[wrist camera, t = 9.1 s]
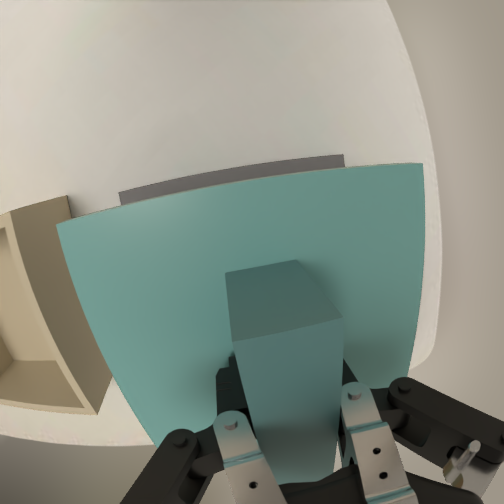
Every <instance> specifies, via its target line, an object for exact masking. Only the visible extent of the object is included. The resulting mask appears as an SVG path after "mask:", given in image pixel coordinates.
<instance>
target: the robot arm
mask: <svg viewBox="0 0 504 504" xmlns="http://www.w3.org/2000/svg"><path fill="white" fill-rule="evenodd" d="M228 359H229V367H225V368H220V369H219V370H218V372H217V374H216V402H217V417H216V418H215V420H214V422H213V424H212V425H211V426H209V427H208V428H206V429H204V430H201V431H198V432H196V433H194V432H192V431H191V430H188V429H176V430H173V431H171V432H170V433H168V434H167V435H166V437H165V438H164V440H163V441H162V443H161V444H160V446H159V447H158V449H157V450H156V452H155V453H154V455H153V456H152V458H151V459H150V461H149V462H148V463H147V465H146V466H145V468H144V469H143V471H142V472H141V474H140V475H139V477H138V478H137V480H136V481H135V483H134V484H133V485H132V487H131V488H130V490H129V491H128V493H127V494H126V496H125V497H124V498H123V500H122V501H121V502H120V504H199V503H200V501H201V499H202V497H203V495H204V493H205V491H206V489H207V487H208V485H209V483H210V481H211V479H212V477H213V475H214V473H217V472H219V471H222V470H225V472H226V475H227V478H228V481H229V484H230V487H231V490H232V493H233V496H234V499H235V502H236V504H484V503H483V501H482V500H481V497H482V495H483V494H484V492H485V491H486V489H487V487H488V486H489V484H490V482H491V481H492V479H493V477H494V475H495V474H496V472H497V470H498V468H499V467H500V465H501V464H502V463H503V462H504V422H503V421H501V420H499V419H497V418H494V417H492V416H490V415H488V414H486V413H483V412H481V411H479V410H477V409H474V408H472V407H470V406H468V405H466V404H464V403H462V402H459V401H457V400H455V399H453V398H451V397H449V396H447V395H445V394H442V393H441V392H439V391H437V390H435V389H432V388H430V387H428V386H426V385H424V384H422V383H420V382H418V381H416V380H414V379H412V378H409V377H400V378H397V379H395V380H393V381H392V382H391V384H390V386H389V387H388V388H378V389H371V388H369V387H368V386H367V385H366V384H364V383H361V382H358V380H357V379H356V377H355V376H354V374H353V372H352V371H351V369H350V368H349V366H348V365H347V363H346V361H345V360H344V358H343V373H342V391H341V405H340V417H339V428H338V438H337V441H338V446H339V451H340V456H341V462H342V468H341V469H340V470H338V471H336V472H334V473H332V474H330V475H329V476H327V477H325V478H323V479H321V480H319V481H315V482H296V483H285V484H280V485H278V484H277V482H276V480H275V478H274V475H273V473H272V471H271V469H270V467H269V465H268V463H267V460H266V458H265V456H264V454H263V453H262V452H261V450H260V448H259V446H258V443H257V441H256V439H257V438H256V434H255V431H254V427H253V423H252V420H251V416H250V412H249V408H248V404H247V401H246V397H245V393H244V389H243V385H242V381H241V377H240V373H239V369H238V365H237V361H236V357H235V356H229V357H228ZM394 440H395V441H397V442H399V443H400V444H402V445H403V446H405V447H407V448H408V449H410V450H411V451H413V452H415V453H417V454H418V455H420V456H422V457H423V458H425V459H427V460H429V461H430V462H432V463H434V464H435V465H437V466H439V467H441V468H443V475H444V477H445V480H446V482H448V483H451V485H452V486H450V485H447V484H443V483H440V482H436V481H433V480H430V479H427V478H424V477H420V476H418V475H415V474H412V473H409V472H406V471H405V470H404V467H403V464H402V461H401V458H400V455H399V452H398V449H397V446H396V444H395V441H394Z"/></svg>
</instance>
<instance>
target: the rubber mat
mask: <svg viewBox="0 0 504 504" xmlns="http://www.w3.org/2000/svg"><path fill="white" fill-rule="evenodd" d="M342 167H345V164H344V156H343V154H342V155H330V156H319V157H310V158H301V159H292V160H284V161H276V162H269V163H262V164H255V165H249V166H242V167H236V168H230V169H224V170H219V171H213V172H208V173H203V174H197V175H192V176H187V177H183V178H178V179H173V180H169V181H164V182H160V183H155V184H151V185H147V186H143V187H138V188H134V189H130V190H127V191H123V192H119V197H120V202H121V205H125V204H129V203H133V202H137V201H141V200H145V199H150V198H154V197H159V196H163V195H168V194H173V193H177V192H182V191H187V190H192V189H197V188H203V187H208V186H213V185H219V184H225V183H230V182H236V181H242V180H248V179H255V178H261V177H268V176H275V175H282V174H290V173H297V172H306V171H314V170H323V169H332V168H342Z"/></svg>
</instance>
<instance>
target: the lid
mask: <svg viewBox="0 0 504 504" xmlns="http://www.w3.org/2000/svg"><path fill="white" fill-rule="evenodd" d="M56 227H57V231H58V235H59V239H60V242H61V246H62V250H63V253H64V256H65V260H66V263H67V266H68V269H69V273H70V276H71V279H72V282H73V284H74V287H75V290H76V293H77V296H78V298H79V301H80V304H81V306H82V309H83V311H84V314H85V316H86V319H87V321H88V324H89V326H90V328H91V331H92V333H93V335H94V338H95V340H96V342H97V344H98V346H99V349H100V351H101V353H102V355H103V357H104V359H105V361H106V363H107V365H108V367H109V369H110V371H111V373H112V375H113V377H114V379H115V381H116V382H117V384H118V386H119V388H120V390H121V392H122V393H123V395H124V397H125V399H126V400H127V402H128V404H129V405H130V407H131V409H132V410H133V412H134V414H135V415H136V417H137V418H138V420H139V422H140V423H141V425H142V426H143V428H144V429H145V431H146V432H147V434H148V435H149V437H150V438H151V440H152V441H153V443H154V444H155V446H156V447H157V448H158V447H159V446H160V444H161V443H162V441H163V440H164V438H165V437H166V435H167V434H168V433H170V432H171V431H173V430H176V429H188V430H191V431H192V432H194V433H196V432H198V431H201V430H204V429H206V428H208V427H209V426H211V425H212V424H213V422H214V420H215V418H216V417H217V402H216V374H217V372H218V370H219V369H220V368H225V367H229V359H228V357H229V356H235V357H236V361H237V365H238V369H239V373H240V377H241V381H242V385H243V389H244V393H245V397H246V401H247V404H248V408H249V412H250V416H251V420H252V423H253V427H254V431H255V434H256V438H257V439H256V441H257V443H258V446H259V448H260V450H261V452H262V453H263V454H264V456H265V458H266V460H267V463H268V465H269V467H270V469H271V471H272V473H273V475H274V478H275V480H276V482H277V484H278V485H280V484H285V483H296V482H315V481H319V480H321V479H323V478H325V477H327V476H329V475H330V474H332V473H333V469H334V462H335V455H336V446H337V438H338V428H339V417H340V405H341V391H342V373H343V358H344V360H345V361H346V363H347V365H348V366H349V368H350V369H351V371H352V372H353V374H354V376H355V377H356V379H357V380H358V382H361V383H364V384H366V385H367V386H368V387H369V388H371V389H378V388H388V387H389V386H390V384H391V382H392V381H393V380H395V379H397V378H400V377H407V374H408V370H409V366H410V361H411V356H412V351H413V346H414V340H415V335H416V328H417V322H418V315H419V308H420V299H421V290H422V279H423V266H424V247H425V194H424V175H423V163H394V164H379V165H365V166H353V167H342V168H332V169H323V170H314V171H306V172H297V173H290V174H282V175H275V176H268V177H261V178H255V179H248V180H242V181H236V182H230V183H225V184H219V185H213V186H208V187H203V188H197V189H192V190H187V191H182V192H177V193H173V194H168V195H163V196H159V197H154V198H150V199H145V200H141V201H137V202H133V203H129V204H125V205H120V206H116V207H113V208H109V209H105V210H101V211H97V212H94V213H90V214H86V215H83V216H79V217H76V218H72V219H69V220H66V221H63V222H61V223H59V224H56Z"/></svg>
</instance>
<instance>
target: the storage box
mask: <svg viewBox="0 0 504 504" xmlns="http://www.w3.org/2000/svg"><path fill="white" fill-rule="evenodd" d="M69 219H72V218H71V213H70V209H69V204H68V199H67V195H66V196H62V197H58V198H54V199H51V200H47V201H43V202H39V203H36V204H32V205H29V206H25V207H22V208H19V209H15V210H12V211H9V212H7V213H4V214H2V215H0V404H3V405H8V406H14V407H20V408H26V409H33V410H40V411H48V412H58V413H69V414H84V415H98V412H99V410H100V407H101V404H102V402H103V399H104V396H105V394H106V391H107V389H108V386H109V383H110V381H111V378H112V376H113V375H112V373H111V371H110V369H109V367H108V365H107V363H106V361H105V359H104V357H103V355H102V353H101V351H100V349H99V346H98V344H97V342H96V340H95V338H94V335H93V333H92V331H91V328H90V326H89V324H88V321H87V319H86V316H85V314H84V311H83V309H82V306H81V304H80V301H79V298H78V296H77V293H76V290H75V287H74V284H73V282H72V279H71V276H70V273H69V269H68V266H67V263H66V260H65V256H64V253H63V250H62V246H61V242H60V239H59V235H58V231H57V227H56V224H59V223H61V222H63V221H66V220H69Z"/></svg>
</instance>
